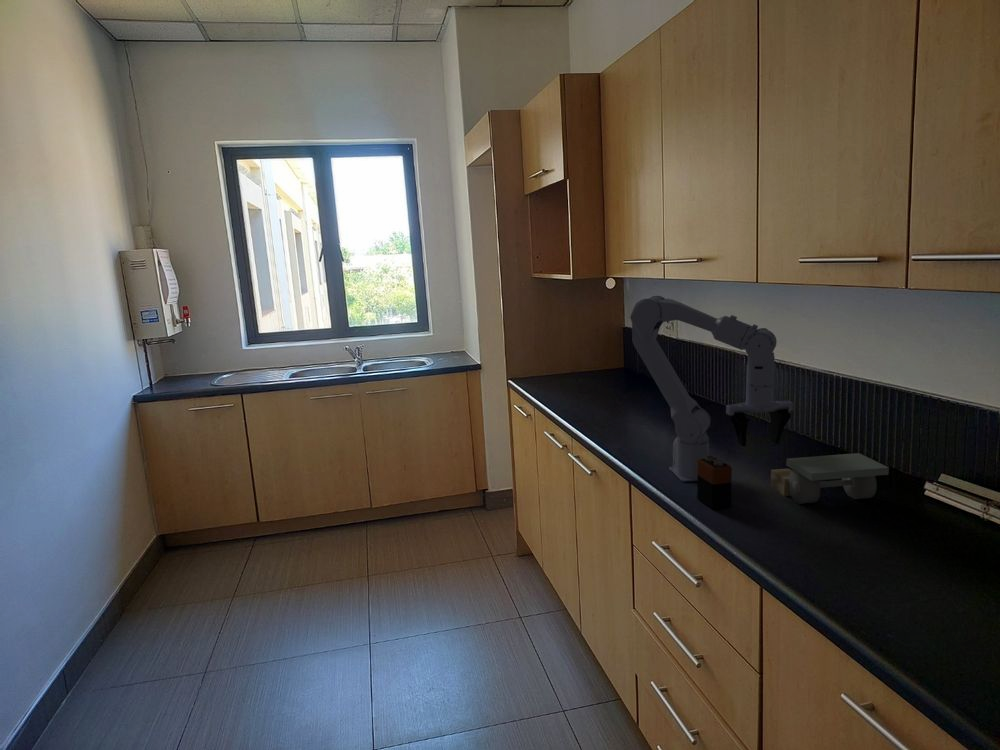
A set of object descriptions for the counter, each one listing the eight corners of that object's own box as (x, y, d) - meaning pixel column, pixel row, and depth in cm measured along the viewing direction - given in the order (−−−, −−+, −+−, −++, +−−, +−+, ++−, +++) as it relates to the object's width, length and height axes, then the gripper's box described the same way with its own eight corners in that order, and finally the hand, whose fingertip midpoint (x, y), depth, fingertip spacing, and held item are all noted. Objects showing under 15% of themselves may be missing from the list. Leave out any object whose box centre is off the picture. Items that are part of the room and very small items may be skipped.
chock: (770, 486, 143) (771, 469, 143) (787, 485, 144) (788, 468, 143) (784, 496, 138) (784, 478, 137) (802, 495, 138) (802, 477, 137)
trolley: (785, 496, 137) (786, 458, 136) (856, 490, 138) (858, 453, 137) (809, 514, 128) (811, 473, 126) (886, 507, 129) (888, 467, 127)
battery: (713, 510, 132) (713, 464, 130) (696, 499, 138) (696, 454, 136) (732, 508, 133) (732, 462, 131) (714, 496, 139) (715, 452, 137)
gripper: (736, 390, 137) (735, 451, 139) (801, 385, 138) (799, 446, 140) (722, 383, 144) (721, 442, 146) (784, 379, 145) (782, 437, 147)
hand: (758, 443), depth 144 cm, fingers open, 7 cm apart
